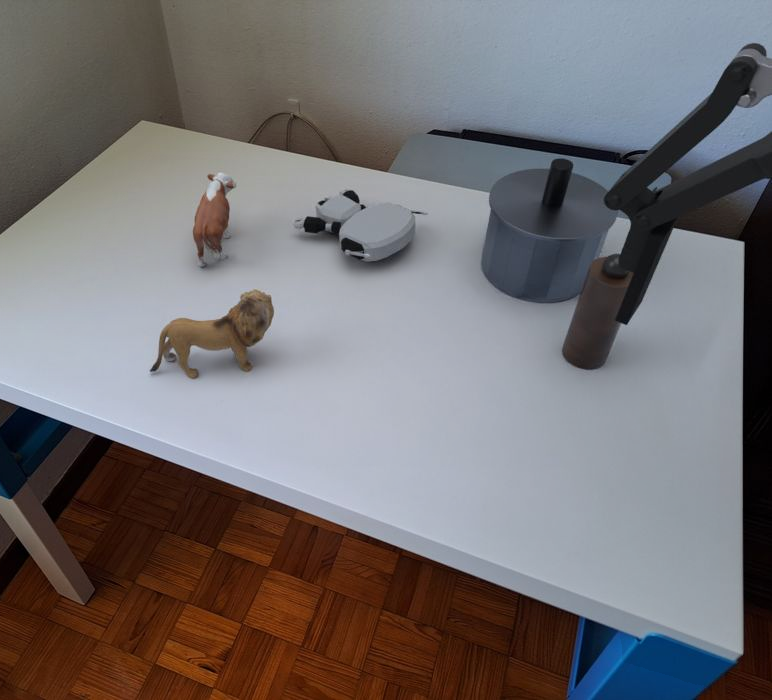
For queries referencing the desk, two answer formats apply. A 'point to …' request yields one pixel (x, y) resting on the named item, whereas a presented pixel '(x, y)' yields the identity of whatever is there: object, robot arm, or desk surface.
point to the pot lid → (552, 204)
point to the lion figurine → (219, 332)
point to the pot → (536, 264)
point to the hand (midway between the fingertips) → (743, 357)
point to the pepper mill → (596, 314)
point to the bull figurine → (213, 217)
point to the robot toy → (362, 225)
